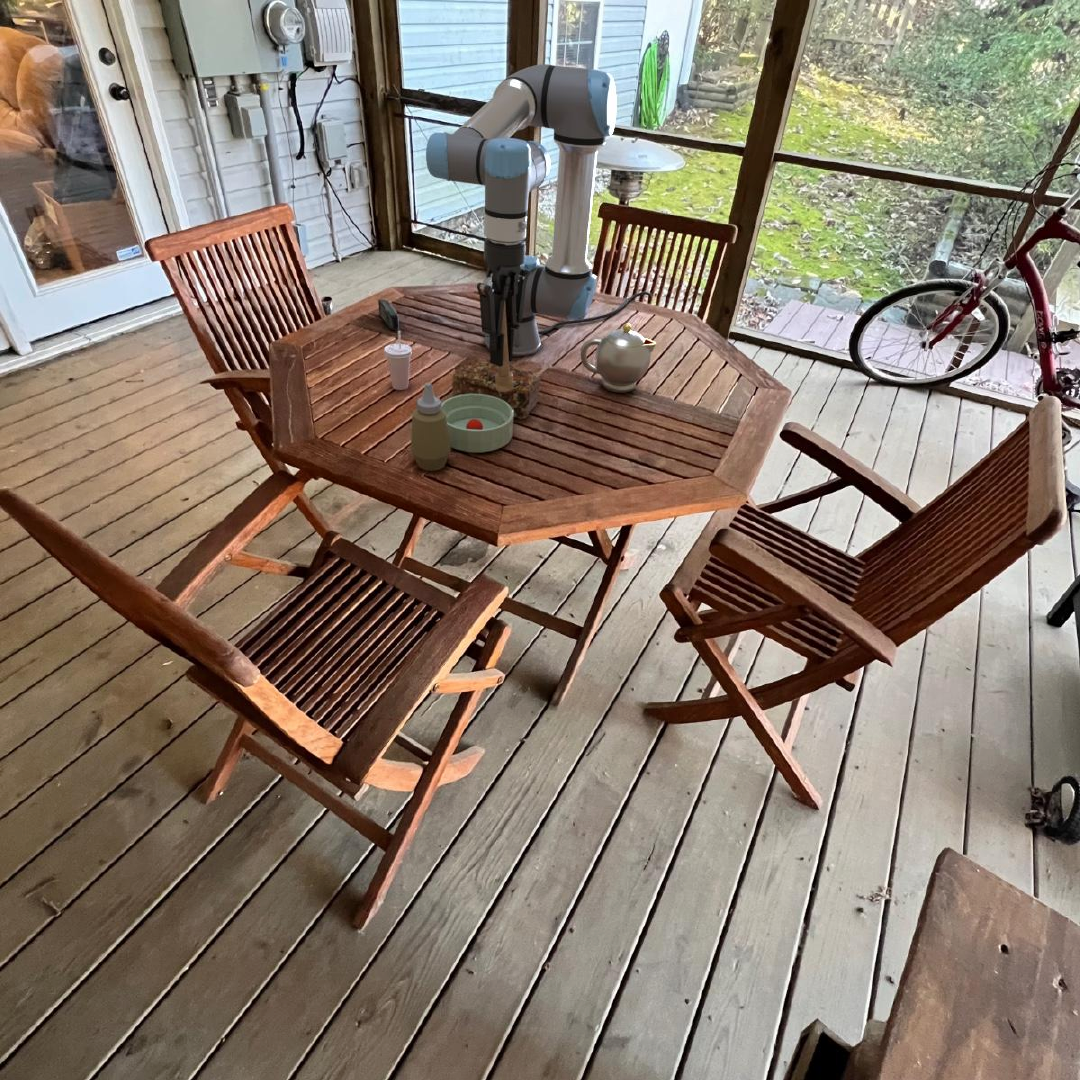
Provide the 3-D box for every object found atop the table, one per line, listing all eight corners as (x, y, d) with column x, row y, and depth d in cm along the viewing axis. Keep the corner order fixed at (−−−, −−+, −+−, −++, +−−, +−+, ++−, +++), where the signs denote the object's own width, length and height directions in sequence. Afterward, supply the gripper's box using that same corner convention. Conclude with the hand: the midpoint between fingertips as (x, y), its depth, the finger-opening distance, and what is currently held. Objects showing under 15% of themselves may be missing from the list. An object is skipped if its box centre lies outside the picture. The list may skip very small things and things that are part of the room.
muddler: (507, 383, 143) (501, 284, 131) (516, 388, 140) (511, 288, 128) (492, 387, 141) (485, 287, 129) (501, 393, 139) (494, 292, 127)
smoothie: (408, 394, 164) (405, 338, 155) (382, 390, 165) (378, 334, 156) (417, 382, 169) (414, 327, 160) (392, 378, 169) (388, 323, 161)
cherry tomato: (474, 413, 148) (481, 425, 147) (481, 421, 151) (488, 432, 150) (461, 422, 148) (467, 434, 147) (467, 430, 152) (474, 441, 150)
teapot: (648, 378, 179) (660, 317, 169) (645, 402, 169) (657, 339, 158) (581, 369, 181) (587, 307, 171) (573, 392, 171) (580, 328, 160)
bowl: (469, 410, 160) (470, 386, 156) (526, 433, 154) (528, 409, 150) (423, 437, 149) (421, 413, 146) (481, 464, 143) (482, 439, 139)
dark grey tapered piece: (376, 298, 196) (391, 316, 186) (386, 297, 198) (402, 315, 187) (377, 315, 200) (393, 334, 189) (387, 314, 201) (403, 333, 190)
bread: (450, 405, 161) (450, 366, 155) (469, 386, 169) (469, 348, 163) (525, 423, 157) (528, 383, 151) (540, 403, 165) (543, 364, 159)
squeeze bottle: (412, 452, 144) (408, 374, 133) (451, 453, 145) (450, 375, 134) (410, 474, 138) (405, 393, 127) (450, 474, 139) (449, 394, 128)
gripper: (495, 253, 116) (492, 380, 131) (546, 235, 126) (538, 355, 141) (461, 243, 119) (461, 368, 134) (514, 226, 129) (509, 344, 144)
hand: (501, 361), depth 138 cm, fingers closed on muddler, 2 cm apart
